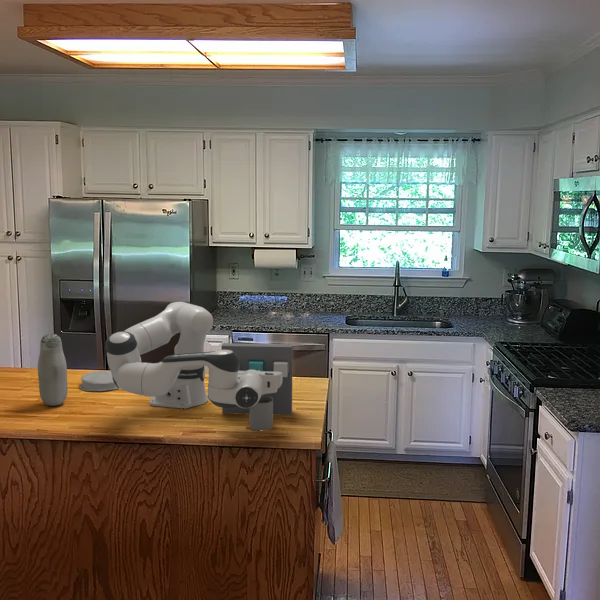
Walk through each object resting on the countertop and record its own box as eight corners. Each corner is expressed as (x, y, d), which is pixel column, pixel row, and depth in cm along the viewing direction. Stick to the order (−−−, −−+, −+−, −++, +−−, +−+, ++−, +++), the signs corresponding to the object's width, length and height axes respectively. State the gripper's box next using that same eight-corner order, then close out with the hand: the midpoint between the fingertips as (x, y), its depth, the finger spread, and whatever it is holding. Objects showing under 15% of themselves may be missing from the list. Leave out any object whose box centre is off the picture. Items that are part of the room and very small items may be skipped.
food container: (92, 378, 283) (91, 363, 282) (135, 379, 280) (134, 364, 279) (70, 392, 264) (69, 377, 262) (116, 394, 261) (115, 378, 260)
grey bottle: (35, 404, 246) (31, 334, 242) (60, 398, 254) (57, 329, 249) (47, 411, 240) (43, 338, 235) (73, 404, 247) (69, 334, 242)
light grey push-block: (273, 376, 233) (273, 363, 232) (274, 372, 239) (274, 359, 238) (287, 377, 233) (287, 363, 232) (288, 372, 239) (288, 359, 238)
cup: (249, 422, 230) (249, 395, 229) (272, 421, 231) (272, 395, 229) (249, 431, 222) (249, 403, 220) (273, 430, 223) (273, 403, 221)
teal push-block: (249, 376, 233) (249, 363, 232) (250, 371, 239) (250, 358, 238) (262, 376, 233) (262, 363, 232) (264, 371, 239) (264, 358, 238)
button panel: (222, 413, 239) (221, 345, 235) (223, 409, 243) (223, 343, 239) (291, 414, 238) (292, 347, 234) (292, 411, 242) (292, 344, 238)
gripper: (221, 391, 219) (227, 379, 232) (281, 392, 218) (283, 381, 232) (221, 373, 218) (227, 362, 231) (281, 375, 217) (283, 364, 231)
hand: (256, 371), depth 231 cm, fingers closed
